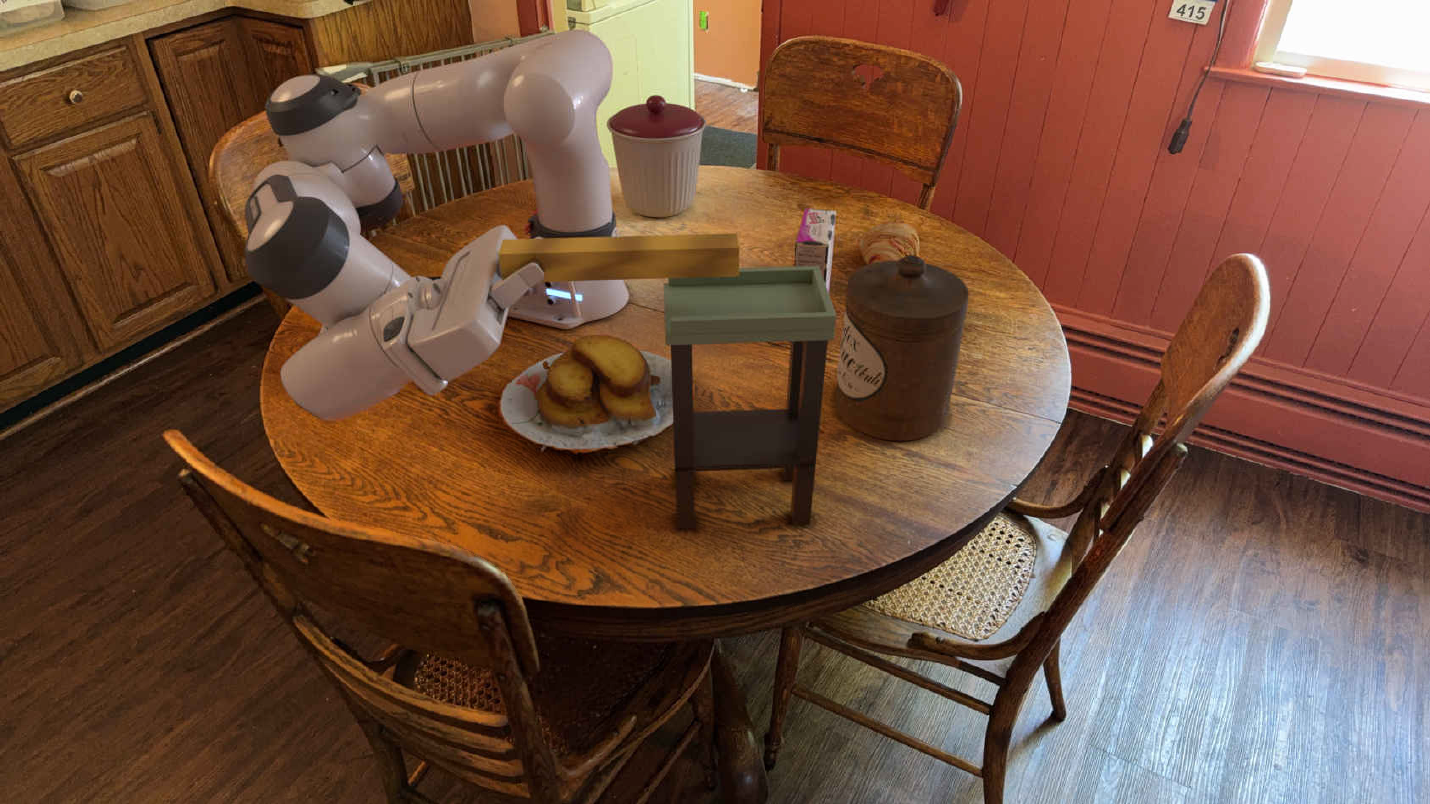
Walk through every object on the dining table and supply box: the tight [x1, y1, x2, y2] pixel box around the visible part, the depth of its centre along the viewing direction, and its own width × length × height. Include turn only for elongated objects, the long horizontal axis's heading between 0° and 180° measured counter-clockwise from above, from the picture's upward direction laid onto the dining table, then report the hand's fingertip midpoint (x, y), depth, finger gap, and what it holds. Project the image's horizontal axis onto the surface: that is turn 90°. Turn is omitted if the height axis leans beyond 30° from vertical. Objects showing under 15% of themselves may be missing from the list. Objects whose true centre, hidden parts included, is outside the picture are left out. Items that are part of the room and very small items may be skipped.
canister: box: [606, 94, 707, 218], centre depth 159 cm, size 18×18×21 cm
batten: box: [498, 232, 740, 282], centre depth 80 cm, size 22×3×3 cm, turn 94°
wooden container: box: [834, 255, 970, 442], centre depth 107 cm, size 15×15×22 cm
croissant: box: [859, 219, 920, 265], centre depth 146 cm, size 21×10×8 cm, turn 163°
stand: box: [663, 266, 837, 531], centre depth 92 cm, size 16×10×28 cm, turn 94°
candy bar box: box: [793, 208, 837, 294], centre depth 126 cm, size 11×5×16 cm, turn 168°
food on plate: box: [497, 334, 696, 459], centre depth 112 cm, size 25×25×7 cm
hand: (543, 256), depth 80 cm, fingers closed on batten, 3 cm apart
